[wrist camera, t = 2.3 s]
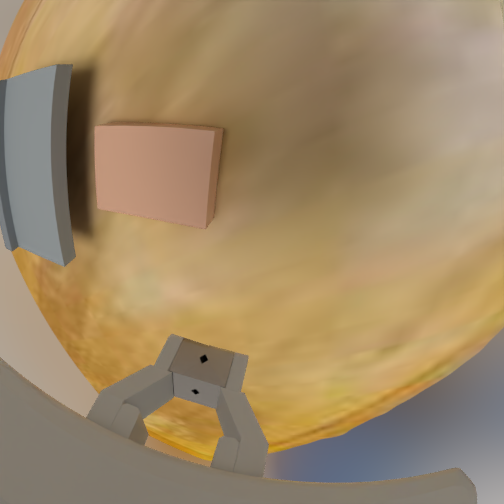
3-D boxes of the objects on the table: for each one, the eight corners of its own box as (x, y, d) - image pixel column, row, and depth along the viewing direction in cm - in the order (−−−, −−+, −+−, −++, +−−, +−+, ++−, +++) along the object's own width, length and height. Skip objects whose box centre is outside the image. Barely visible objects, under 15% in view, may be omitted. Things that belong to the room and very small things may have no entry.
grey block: (39, 76, 23) (-8, 83, 16) (100, 65, 23) (46, 64, 15) (42, 222, 36) (5, 248, 28) (96, 239, 35) (57, 273, 27)
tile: (112, 122, 27) (94, 126, 24) (224, 128, 26) (214, 131, 23) (113, 198, 32) (97, 208, 29) (214, 216, 31) (205, 229, 28)
